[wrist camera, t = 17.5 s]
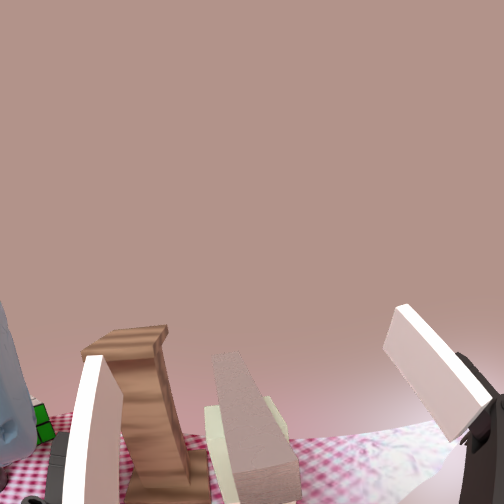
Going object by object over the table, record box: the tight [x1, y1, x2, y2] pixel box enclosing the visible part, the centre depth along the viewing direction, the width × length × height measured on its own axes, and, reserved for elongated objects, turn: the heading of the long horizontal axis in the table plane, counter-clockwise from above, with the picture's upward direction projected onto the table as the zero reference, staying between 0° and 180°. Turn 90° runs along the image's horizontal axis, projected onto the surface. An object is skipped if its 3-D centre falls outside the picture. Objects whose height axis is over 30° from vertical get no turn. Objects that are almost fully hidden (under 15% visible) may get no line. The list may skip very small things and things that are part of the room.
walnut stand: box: [81, 325, 211, 504], centre depth 39 cm, size 16×14×28 cm
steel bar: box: [212, 351, 302, 504], centre depth 28 cm, size 28×4×4 cm, turn 10°
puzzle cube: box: [30, 395, 56, 445], centre depth 47 cm, size 10×10×10 cm
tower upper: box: [204, 396, 289, 504], centre depth 28 cm, size 8×8×10 cm
